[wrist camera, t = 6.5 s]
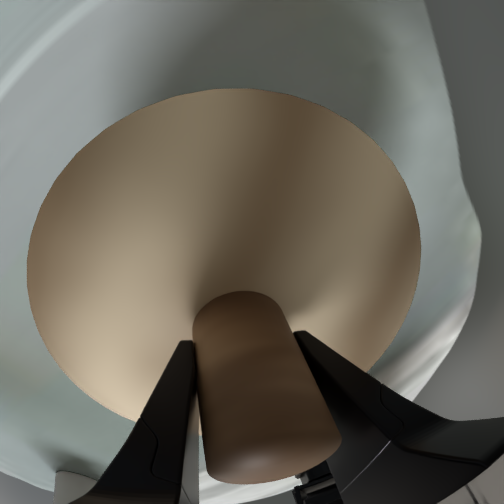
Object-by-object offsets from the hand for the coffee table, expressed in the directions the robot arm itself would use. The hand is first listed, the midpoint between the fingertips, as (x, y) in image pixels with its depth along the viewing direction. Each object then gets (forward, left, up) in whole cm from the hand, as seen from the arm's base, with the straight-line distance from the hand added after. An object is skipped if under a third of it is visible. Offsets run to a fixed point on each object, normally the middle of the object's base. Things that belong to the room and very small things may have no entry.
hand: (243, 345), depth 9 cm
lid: (0, 0, -2) cm, 2 cm away
